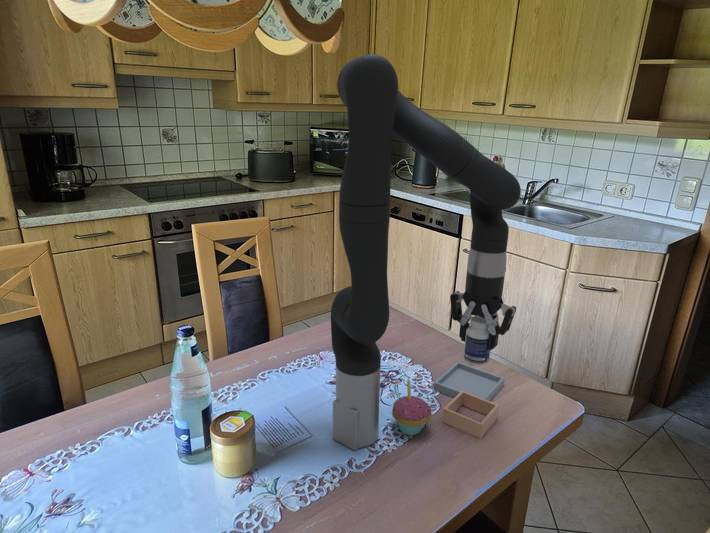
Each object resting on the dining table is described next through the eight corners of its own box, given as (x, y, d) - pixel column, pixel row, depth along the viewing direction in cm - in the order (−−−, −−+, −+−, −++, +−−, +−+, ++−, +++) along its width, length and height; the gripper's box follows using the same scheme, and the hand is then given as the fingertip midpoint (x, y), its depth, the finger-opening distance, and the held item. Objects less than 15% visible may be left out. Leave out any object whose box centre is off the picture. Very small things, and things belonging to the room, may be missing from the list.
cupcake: (384, 422, 108) (385, 376, 104) (415, 412, 112) (418, 367, 108) (405, 445, 101) (407, 396, 97) (438, 434, 105) (441, 386, 101)
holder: (480, 438, 103) (482, 425, 102) (442, 421, 109) (443, 408, 108) (497, 418, 110) (499, 404, 109) (460, 402, 116) (461, 390, 115)
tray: (482, 409, 113) (483, 401, 113) (433, 389, 121) (434, 382, 120) (503, 385, 123) (504, 378, 122) (457, 368, 131) (457, 361, 130)
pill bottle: (491, 367, 102) (496, 325, 99) (465, 366, 102) (470, 324, 99) (485, 354, 107) (490, 314, 104) (461, 354, 107) (465, 313, 104)
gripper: (445, 266, 99) (439, 340, 105) (513, 283, 91) (503, 362, 96) (461, 258, 105) (455, 328, 110) (527, 272, 97) (516, 348, 102)
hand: (477, 344), depth 103 cm, fingers closed on pill bottle, 5 cm apart
